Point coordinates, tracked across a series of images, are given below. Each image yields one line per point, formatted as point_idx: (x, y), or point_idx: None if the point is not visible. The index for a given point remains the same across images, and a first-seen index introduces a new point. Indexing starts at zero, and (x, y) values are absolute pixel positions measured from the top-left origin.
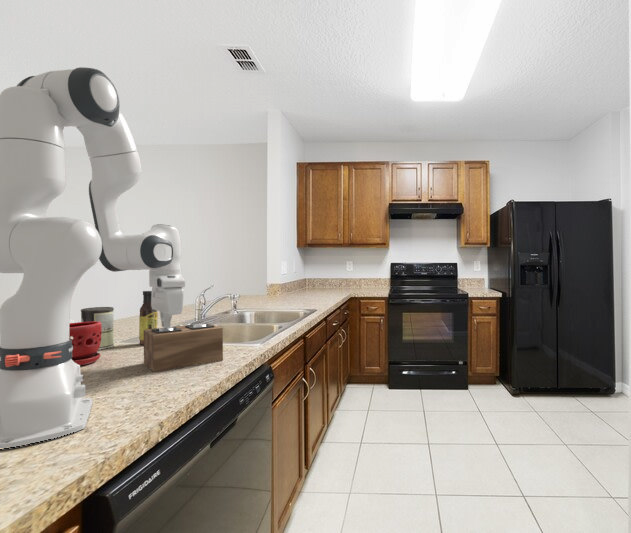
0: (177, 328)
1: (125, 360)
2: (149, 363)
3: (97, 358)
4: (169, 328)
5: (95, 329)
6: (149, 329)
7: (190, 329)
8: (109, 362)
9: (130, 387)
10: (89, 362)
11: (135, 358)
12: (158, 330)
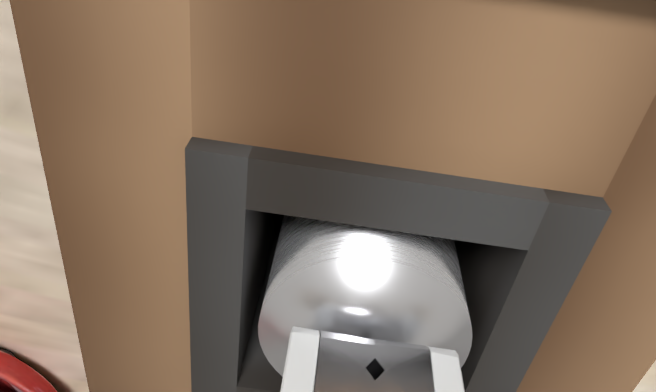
0: (426, 201)
1: (40, 239)
2: None
3: (9, 363)
4: (420, 324)
5: None
6: (100, 378)
7: (623, 6)
8: (46, 306)
9: (646, 389)
10: (51, 385)
11: (9, 181)
12: (244, 346)
